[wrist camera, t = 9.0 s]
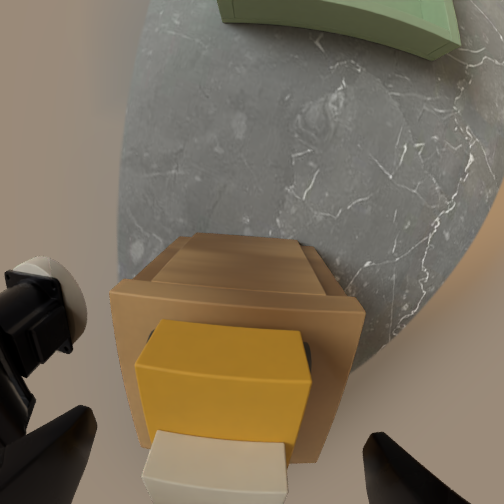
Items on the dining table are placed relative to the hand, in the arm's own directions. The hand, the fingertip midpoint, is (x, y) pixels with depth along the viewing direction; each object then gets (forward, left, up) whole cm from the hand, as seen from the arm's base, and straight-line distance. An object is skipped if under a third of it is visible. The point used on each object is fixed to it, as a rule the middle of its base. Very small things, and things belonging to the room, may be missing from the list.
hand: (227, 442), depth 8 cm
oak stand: (0, 0, -11) cm, 11 cm away
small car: (0, 0, -2) cm, 2 cm away
